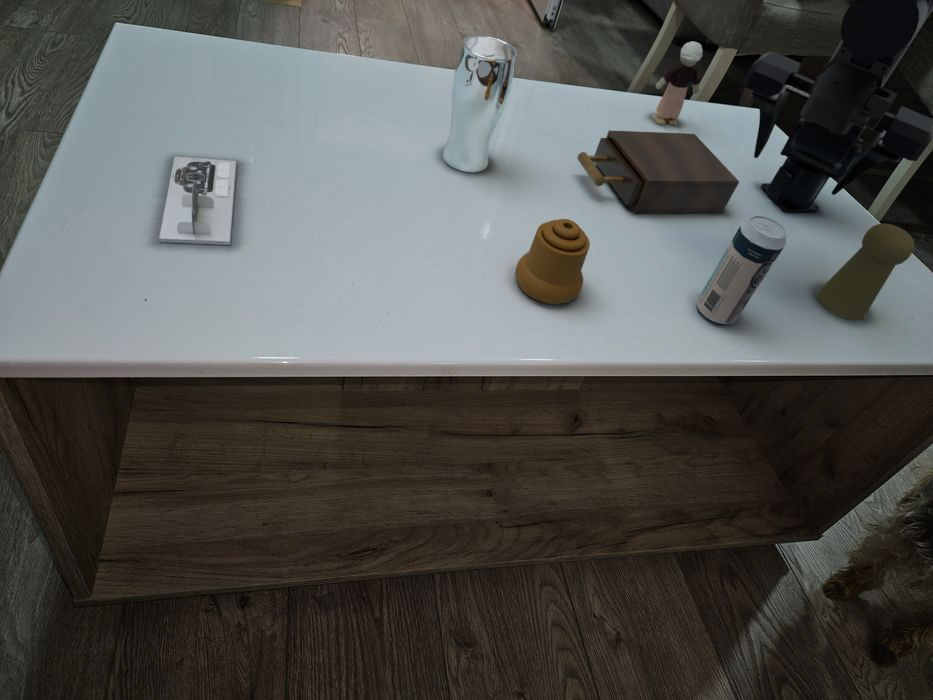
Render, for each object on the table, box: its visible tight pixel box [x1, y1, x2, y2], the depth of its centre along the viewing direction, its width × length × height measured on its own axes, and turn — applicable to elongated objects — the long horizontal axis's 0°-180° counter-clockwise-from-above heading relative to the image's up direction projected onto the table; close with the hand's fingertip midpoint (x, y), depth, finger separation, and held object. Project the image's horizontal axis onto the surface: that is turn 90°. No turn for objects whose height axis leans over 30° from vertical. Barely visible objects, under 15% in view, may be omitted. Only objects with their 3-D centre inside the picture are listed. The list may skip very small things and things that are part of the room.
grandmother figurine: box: [651, 40, 704, 126], centre depth 107 cm, size 8×4×13 cm, turn 115°
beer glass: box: [442, 34, 518, 173], centre depth 86 cm, size 7×7×15 cm
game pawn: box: [816, 223, 915, 322], centre depth 81 cm, size 6×6×11 cm
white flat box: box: [158, 155, 237, 246], centre depth 72 cm, size 15×7×4 cm, turn 11°
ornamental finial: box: [515, 218, 591, 305], centre depth 73 cm, size 8×8×8 cm
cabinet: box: [605, 129, 740, 214], centre depth 94 cm, size 14×12×5 cm
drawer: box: [576, 137, 645, 207], centre depth 93 cm, size 18×11×3 cm, turn 107°
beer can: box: [696, 215, 788, 325], centre depth 74 cm, size 5×5×12 cm
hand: (794, 174), depth 77 cm, fingers open, 9 cm apart
